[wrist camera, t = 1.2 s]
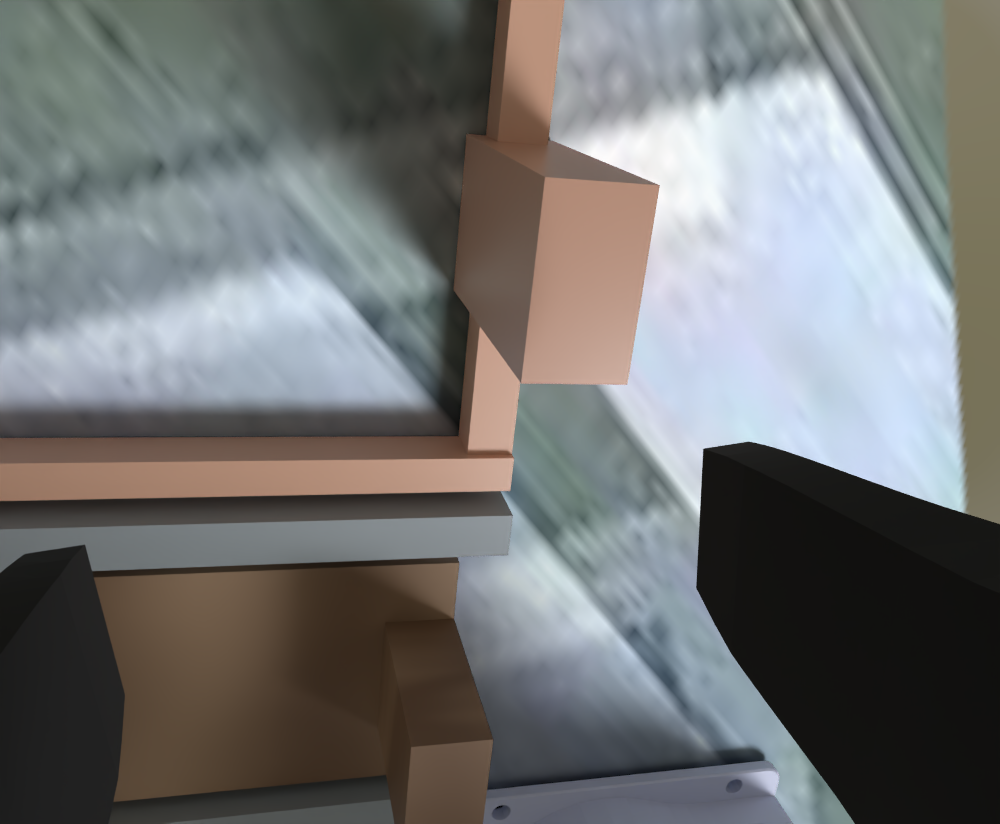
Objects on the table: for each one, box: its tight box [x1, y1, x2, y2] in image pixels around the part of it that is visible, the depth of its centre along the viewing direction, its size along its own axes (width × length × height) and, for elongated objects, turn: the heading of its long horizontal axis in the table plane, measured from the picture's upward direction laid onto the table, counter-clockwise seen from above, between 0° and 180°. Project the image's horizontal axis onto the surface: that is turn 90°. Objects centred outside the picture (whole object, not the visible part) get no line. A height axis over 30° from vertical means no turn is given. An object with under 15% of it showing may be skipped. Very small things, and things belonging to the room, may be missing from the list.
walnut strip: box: [92, 557, 493, 824], centre depth 18 cm, size 17×6×5 cm, turn 84°
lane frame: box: [0, 491, 513, 824], centre depth 17 cm, size 20×22×2 cm
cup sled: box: [0, 0, 660, 501], centre depth 14 cm, size 19×12×6 cm, turn 84°
